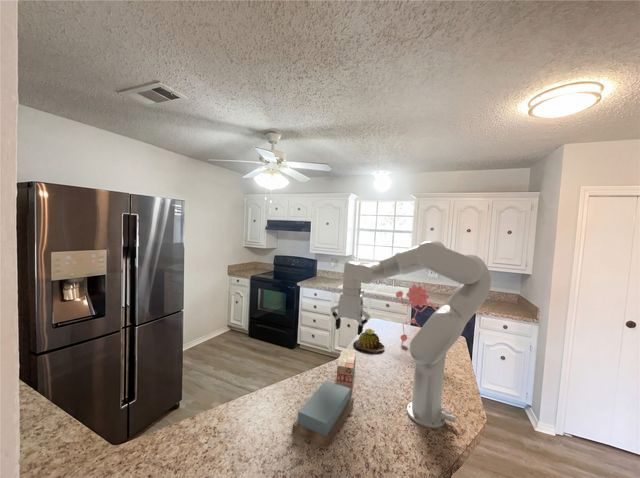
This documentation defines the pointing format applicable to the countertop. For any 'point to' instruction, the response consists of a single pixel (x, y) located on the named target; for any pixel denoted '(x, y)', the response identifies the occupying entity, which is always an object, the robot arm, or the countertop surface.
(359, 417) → the countertop surface
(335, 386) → the tower top slab
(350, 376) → the stack of blocks
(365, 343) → the cactus
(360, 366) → the countertop surface
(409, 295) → the pink flower arrangement
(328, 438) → the tower base slab
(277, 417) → the countertop surface
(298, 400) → the countertop surface
